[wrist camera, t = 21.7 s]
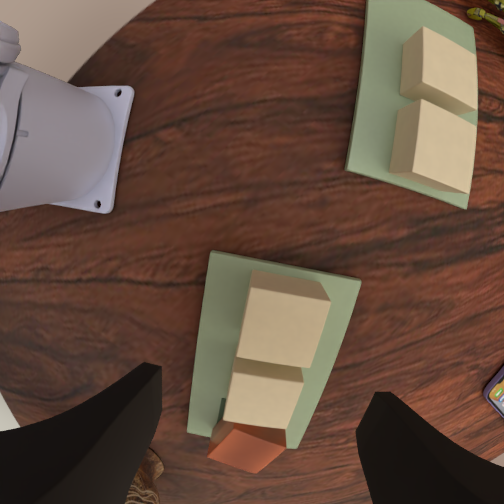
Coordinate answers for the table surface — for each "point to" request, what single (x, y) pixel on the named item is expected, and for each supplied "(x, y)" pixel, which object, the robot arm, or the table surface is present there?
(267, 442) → the reddish orange block
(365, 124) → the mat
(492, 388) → the smartphone
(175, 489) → the table surface
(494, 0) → the robotic hand
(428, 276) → the table surface
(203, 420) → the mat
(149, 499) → the vase
